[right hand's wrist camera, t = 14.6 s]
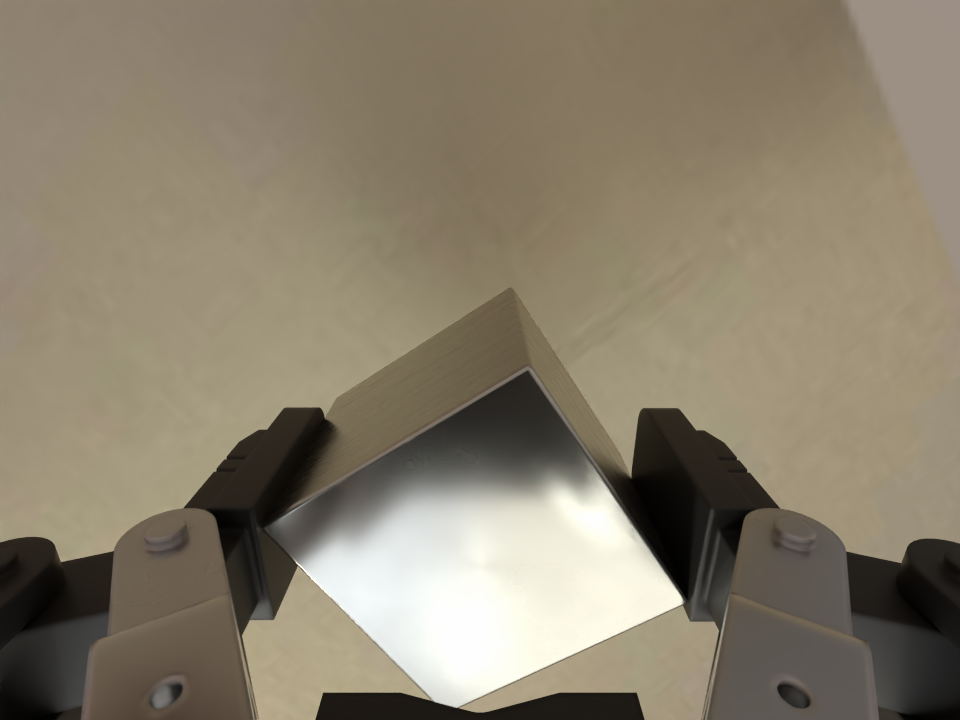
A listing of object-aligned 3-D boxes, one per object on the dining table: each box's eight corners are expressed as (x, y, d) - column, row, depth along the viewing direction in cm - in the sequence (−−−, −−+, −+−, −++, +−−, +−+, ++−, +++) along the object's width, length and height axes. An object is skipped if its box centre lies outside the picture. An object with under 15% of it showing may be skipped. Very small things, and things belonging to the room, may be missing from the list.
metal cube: (511, 285, 11) (530, 363, 7) (620, 454, 13) (690, 603, 9) (335, 398, 12) (256, 527, 8) (455, 542, 14) (444, 716, 10)
